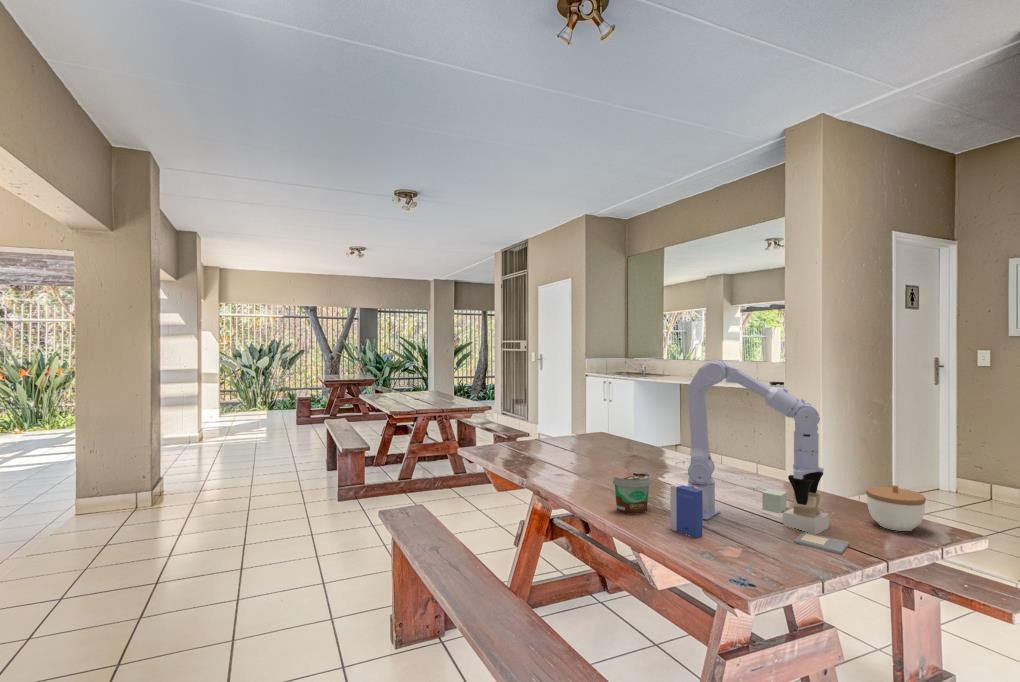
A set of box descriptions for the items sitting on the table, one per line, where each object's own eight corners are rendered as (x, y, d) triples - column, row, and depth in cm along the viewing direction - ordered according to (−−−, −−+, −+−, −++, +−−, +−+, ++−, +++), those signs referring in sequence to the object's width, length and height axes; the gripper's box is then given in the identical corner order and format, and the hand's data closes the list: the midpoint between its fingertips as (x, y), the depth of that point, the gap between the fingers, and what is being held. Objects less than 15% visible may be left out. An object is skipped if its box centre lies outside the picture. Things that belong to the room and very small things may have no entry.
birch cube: (814, 517, 135) (814, 498, 135) (793, 513, 138) (793, 494, 139) (820, 513, 139) (819, 494, 139) (799, 508, 142) (799, 490, 142)
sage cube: (780, 513, 150) (780, 495, 150) (762, 509, 153) (762, 492, 153) (786, 509, 154) (786, 492, 154) (768, 505, 157) (768, 488, 157)
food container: (625, 517, 146) (625, 482, 146) (612, 511, 152) (612, 476, 152) (660, 511, 151) (660, 477, 151) (647, 505, 157) (647, 472, 157)
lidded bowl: (928, 527, 138) (928, 485, 138) (921, 540, 129) (921, 495, 129) (871, 516, 147) (871, 476, 147) (861, 527, 138) (861, 485, 138)
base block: (815, 536, 133) (815, 520, 133) (783, 527, 139) (783, 512, 139) (828, 529, 138) (828, 514, 138) (797, 520, 144) (797, 506, 144)
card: (841, 554, 121) (841, 551, 121) (793, 542, 128) (793, 539, 128) (849, 544, 127) (849, 541, 127) (803, 533, 134) (803, 531, 134)
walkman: (702, 536, 132) (702, 488, 132) (695, 538, 131) (695, 490, 131) (676, 527, 139) (676, 482, 139) (669, 529, 137) (669, 483, 137)
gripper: (815, 456, 131) (815, 510, 131) (830, 447, 141) (830, 498, 141) (784, 452, 136) (784, 504, 136) (801, 444, 146) (801, 492, 146)
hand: (806, 500), depth 139 cm, fingers open, 7 cm apart
